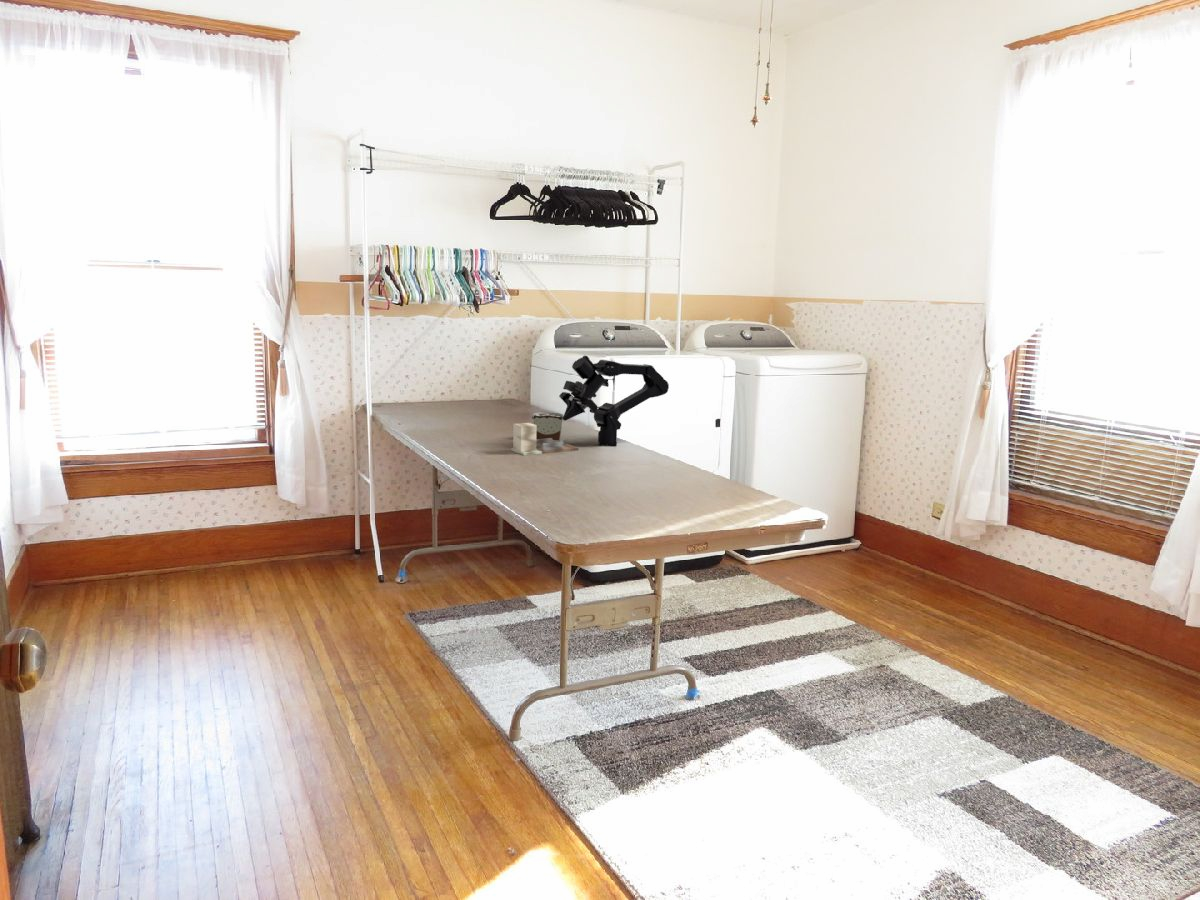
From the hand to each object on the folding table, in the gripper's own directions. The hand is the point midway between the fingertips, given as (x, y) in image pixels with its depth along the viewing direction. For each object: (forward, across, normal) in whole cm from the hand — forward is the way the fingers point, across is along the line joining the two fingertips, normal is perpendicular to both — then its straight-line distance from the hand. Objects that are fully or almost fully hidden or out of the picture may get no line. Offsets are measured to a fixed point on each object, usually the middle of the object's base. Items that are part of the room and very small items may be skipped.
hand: (563, 419), depth 312 cm
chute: (+13, 0, +2) cm, 13 cm away
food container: (+5, -19, +11) cm, 22 cm away
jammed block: (+18, 0, -5) cm, 19 cm away
